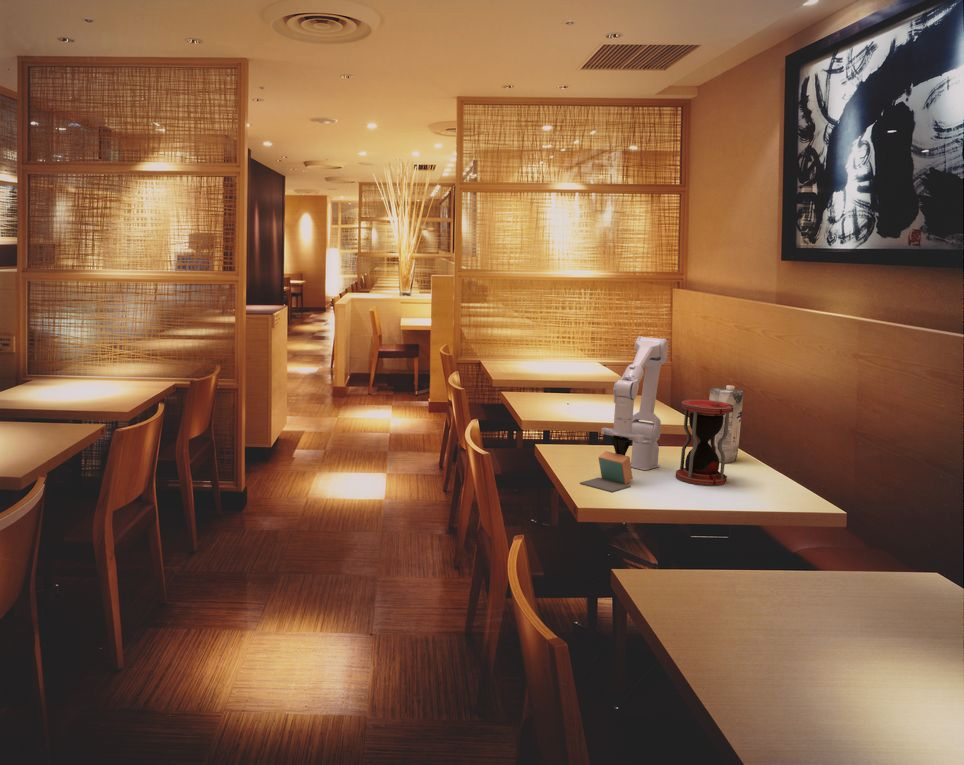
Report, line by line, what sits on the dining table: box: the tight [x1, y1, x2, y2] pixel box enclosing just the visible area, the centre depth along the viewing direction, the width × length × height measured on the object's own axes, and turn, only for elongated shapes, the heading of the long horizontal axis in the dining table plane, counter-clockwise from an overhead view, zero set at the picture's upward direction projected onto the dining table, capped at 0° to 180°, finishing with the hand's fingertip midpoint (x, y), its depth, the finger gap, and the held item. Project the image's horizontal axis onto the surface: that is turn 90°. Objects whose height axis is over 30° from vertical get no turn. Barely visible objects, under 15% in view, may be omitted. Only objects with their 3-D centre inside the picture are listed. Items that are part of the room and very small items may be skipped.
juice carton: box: [708, 385, 744, 464], centre depth 300 cm, size 9×10×27 cm
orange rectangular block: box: [598, 450, 633, 485], centre depth 265 cm, size 4×9×8 cm, turn 45°
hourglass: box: [675, 399, 733, 487], centre depth 272 cm, size 16×16×25 cm
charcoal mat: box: [579, 477, 632, 493], centre depth 261 cm, size 10×12×1 cm
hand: (620, 460), depth 267 cm, fingers closed
